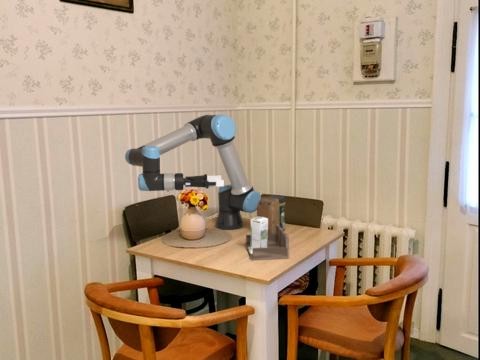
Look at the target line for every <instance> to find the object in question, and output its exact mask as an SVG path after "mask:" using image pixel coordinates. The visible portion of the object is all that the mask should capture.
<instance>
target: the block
mask: <svg viewBox="0 0 480 360" xmlns="http://www.w3.org/2000/svg"><path fill="white" fill-rule="evenodd" d="M256 217H265V218H268V234H276V225H278V224H279V226H280V209H279V200H278V199H277V198H272V197H268V196H264V197H261V199H260V200H259V202H258V206H257V210H256Z"/></svg>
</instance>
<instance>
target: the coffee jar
mask: <svg viewBox="0 0 480 360" xmlns="http://www.w3.org/2000/svg"><path fill="white" fill-rule="evenodd" d="M267 197H272V198H277V199H278V200H279V209H280V227H281V228H282V229H283V231H285V229H286V215H285V207H286V202H287V201H286V197H285V196H284V195H278V194H277V195H276V194H270V195H268V196H267Z"/></svg>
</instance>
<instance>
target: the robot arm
mask: <svg viewBox="0 0 480 360" xmlns="http://www.w3.org/2000/svg"><path fill="white" fill-rule="evenodd" d="M236 131H237V127H236V123H235V121H234V120H233V118H231V117H230V116H229V115H224V114H205V115H201V116H198V117H196V118H193V119H192V120H190V121H189V122H186V123H184V124H183V126H182V127H180V128H178V129H175V130H173V131H171V132H169V133H167V134H165V135H162V136H160V137H158V138H156V139H154V140H152V141H150V142H148V143H145V144H144V145H141V146H139V147H137V148H130V149H128V150H127V151H126V153H125V155H124V158H125V161H126V163H127V164H129V165H131V166H133V167H141V168H142V173H140V174H138V177H137V186H138V190H139V191H141V192H160V191H161V192H163V191H166V192H167V193H168V192H170V191H174V190H175V191H184V187H186V188H187V187H189V188H190V187H191V188H194V187H195V188H205V189H209V188H210V187H214V188H215V187H216V188H217V187H218V192H217V195H218V197H217V198H218V214H217V216H216V220H215V228H218V229H219V230H228V231H229V230H230V231H231V230H237V229H242V228H243V227H244V221H243V217H242V214H241V212H243V213H249V214H252V213H253V214H254V213H255V212H257V206H258V202H259V200H260V199H262V196H261V195H262V194H260V192H258V191H257V190H255V189H254V186H253V183H251V182H249V180H248V178H247V175H246V173H245V170H244V167H243V165H242V162H241V160H240V157H239V154H238V152H237V148H236V146H235V143H234V141H235V137H236V136H235V134H236ZM200 139H210V142H211V144H212V146H213V148H214V147H215V148H216V149H217V152H218V154H219V157H220V159H221V163H222V165H223V166H224V167H223V168H224V171H225V172H226V175H227V178H228V180H229V183H230V184H225V183H224V182H225V180H224V179H222V175H220V174H219V175H208V174H206V173H205V174H203V175H195V176H194V175H193V176H185V177H184V173H182V172H178V173H172V172H169V173H167V172H166V173H161V156H162V155H164V154H166V153H168V152H170V151H172V150H174V149H176V148H178V147H180V146H182V145H184V144H186V143H188V142H196V141H197V140H198V141H199V140H200Z"/></svg>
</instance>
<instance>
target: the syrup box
mask: <svg viewBox="0 0 480 360" xmlns="http://www.w3.org/2000/svg"><path fill="white" fill-rule="evenodd" d="M249 235H250V250H253V248H268V218H265V217H257V216H256V217H253V218H250V234H249Z"/></svg>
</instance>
